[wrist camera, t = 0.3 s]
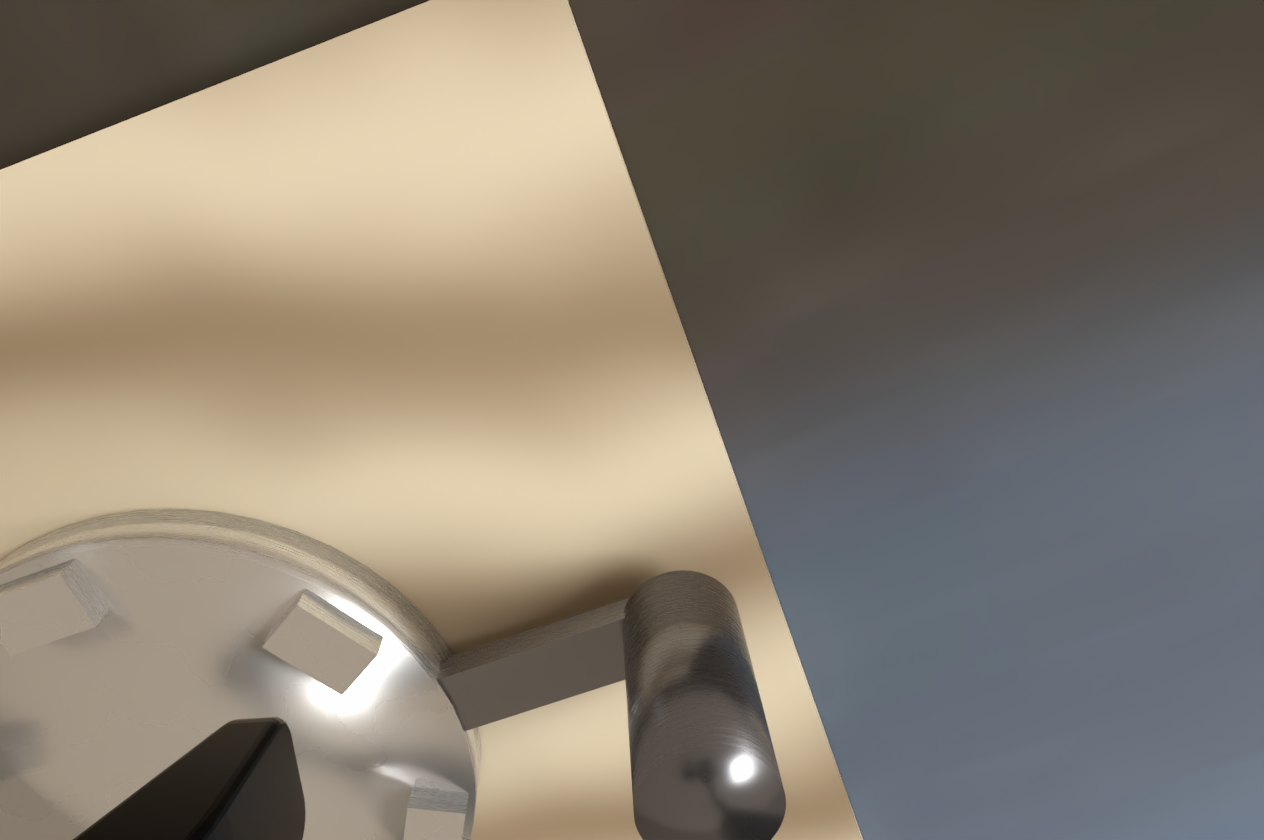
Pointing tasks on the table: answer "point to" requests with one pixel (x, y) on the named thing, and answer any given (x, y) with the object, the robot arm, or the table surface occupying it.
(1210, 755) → the table surface
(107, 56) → the table surface
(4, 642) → the grey metal part
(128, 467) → the base plate
